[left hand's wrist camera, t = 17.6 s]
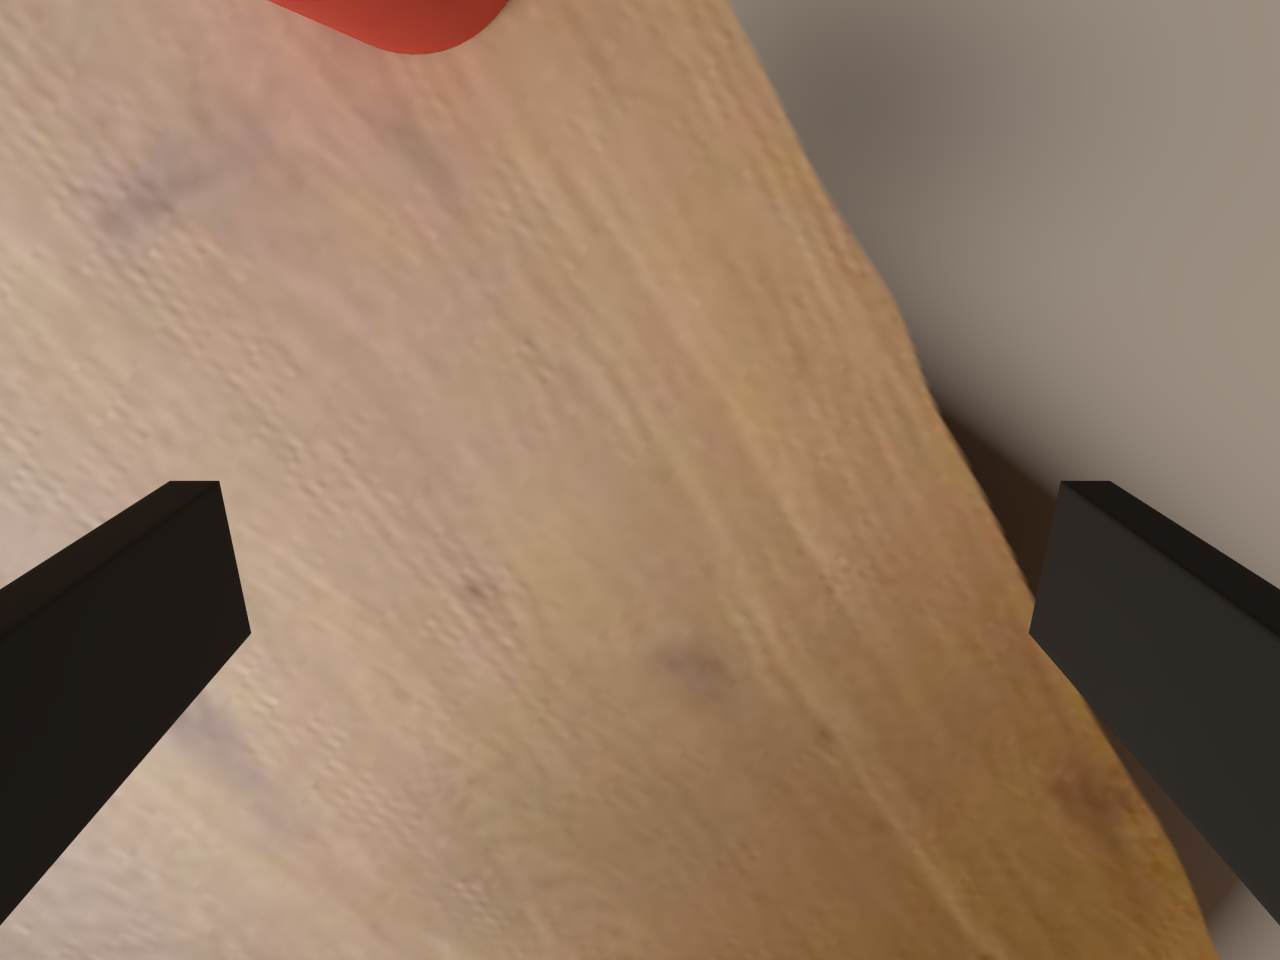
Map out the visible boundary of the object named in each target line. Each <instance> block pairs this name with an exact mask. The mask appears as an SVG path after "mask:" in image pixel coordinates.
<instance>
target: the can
mask: <svg viewBox="0 0 1280 960" xmlns="http://www.w3.org/2000/svg"><path fill="white" fill-rule="evenodd" d="M268 1H270V2H273V3H275V4H277V5H280V6H282V7H284V8H287V9H289V10H291V11H293V12H296V13H298V14H300V15H303V16H305V17H307V18H310V19H312V20H314V21H316V22H319V23H321V24H323V25H326V26H328V27H330V28H333V29H335V30H337V31H339V32H342V33H344V34H346V35H349V36H351V37H353V38H356V39H358V40H360V41H362V42H365V43H367V44H370V45H372V46H375V47H377V48H380V49H383V50H387V51H391V52H395V53H403V54H430V53H434V52H439V51H444V50H447V49H450V48H452V47H455V46H458V45H460V44H462V43H463V42H465V41H467V40H469V39H471V38H472V37H474V36H475V35H476V34H478V33H479V32H480V31H482V30H483V29H484V28H485V27H486V26H487V25H488V24H489V23H490V22H491V21H492V20H493V19H494V18H495V17H496V16H497V15H498V13H499V12H500V11H501V9H502V8H503V7H504V5H505V4H506V3H507V1H508V0H268Z"/></svg>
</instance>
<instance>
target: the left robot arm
mask: <svg viewBox="0 0 1280 960" xmlns="http://www.w3.org/2000/svg"><path fill="white" fill-rule="evenodd" d="M250 634H251V630H250V626H249V621H248V616H247V611H246V606H245V602H244V597H243V592H242V587H241V583H240V578H239V573H238V568H237V564H236V559H235V554H234V549H233V545H232V540H231V535H230V530H229V525H228V521H227V516H226V511H225V506H224V502H223V497H222V492H221V487H220V483H219V481H169V482H168V483H166V484H164V485H163V486H161V487H160V488H158V489H157V490H155V491H154V492H152V493H150V494H149V495H147V496H146V497H144V498H143V499H141V500H139V501H138V502H136V503H135V504H133V505H132V506H130V507H129V508H127V509H125V510H124V511H122V512H121V513H119V514H118V515H116V516H114V517H113V518H111V519H110V520H108V521H107V522H105V523H103V524H102V525H100V526H99V527H97V528H96V529H94V530H93V531H91V532H89V533H88V534H86V535H85V536H83V537H82V538H80V539H78V540H77V541H75V542H74V543H72V544H71V545H69V546H68V547H66V548H64V549H63V550H61V551H60V552H58V553H57V554H55V555H53V556H52V557H50V558H49V559H47V560H46V561H44V562H42V563H41V564H39V565H38V566H36V567H35V568H33V569H32V570H30V571H28V572H27V573H25V574H24V575H22V576H21V577H19V578H17V579H16V580H14V581H13V582H11V583H10V584H8V585H7V586H5V587H3V588H2V589H0V925H1V924H2V923H3V922H4V920H5V919H6V918H7V917H8V916H9V915H10V913H11V912H12V911H13V910H14V909H15V908H16V906H17V905H18V904H19V903H20V902H21V901H22V899H23V898H24V897H25V896H26V895H27V894H28V892H29V891H30V890H31V889H32V888H33V887H34V885H35V884H36V883H37V882H38V881H39V880H40V879H41V877H42V876H43V875H44V874H45V873H46V872H47V870H48V869H49V868H50V867H51V866H52V865H53V863H54V862H55V861H56V860H57V859H58V858H59V856H60V855H61V854H62V853H63V852H64V851H65V849H66V848H67V847H68V846H69V845H70V844H71V842H72V841H73V840H74V839H75V838H76V837H77V835H78V834H79V833H80V832H81V831H82V830H83V828H84V827H85V826H86V825H87V824H88V823H89V821H90V820H91V819H92V818H93V817H94V816H95V814H96V813H97V812H98V811H99V810H100V809H101V807H102V806H103V805H104V804H105V803H106V802H107V800H108V799H109V798H110V797H111V796H112V795H113V794H114V792H115V791H116V790H117V789H118V788H119V787H120V785H121V784H122V783H123V782H124V781H125V780H126V778H127V777H128V776H129V775H130V774H131V773H132V771H133V770H134V769H135V768H136V767H137V766H138V764H139V763H140V762H141V761H142V760H143V759H144V757H145V756H146V755H147V754H148V753H149V752H150V750H151V749H152V748H153V747H154V746H155V745H156V743H157V742H158V741H159V740H160V739H161V738H162V736H163V735H164V734H165V733H166V732H167V731H168V729H169V728H170V727H171V726H172V725H173V724H174V722H175V721H176V720H177V719H178V718H179V717H180V716H181V714H182V713H183V712H184V711H185V710H186V709H187V707H188V706H189V705H190V704H191V703H192V702H193V700H194V699H195V698H196V697H197V696H198V695H199V693H200V692H201V691H202V690H203V689H204V688H205V686H206V685H207V684H208V683H209V682H210V681H211V679H212V678H213V677H214V676H215V675H216V674H217V672H218V671H219V670H220V669H221V668H222V667H223V665H224V664H225V663H226V662H227V661H228V660H229V658H230V657H231V656H232V655H233V654H234V653H235V651H236V650H237V649H238V648H239V647H240V646H241V644H242V643H243V642H244V641H245V640H246V639H247V637H248V636H249V635H250ZM1029 634H1030V635H1031V636H1032V637H1033V639H1034V640H1035V641H1036V642H1037V643H1038V644H1039V646H1040V647H1041V648H1042V649H1043V650H1044V651H1045V653H1046V654H1047V655H1048V656H1049V657H1050V658H1051V660H1052V661H1053V662H1054V663H1055V664H1056V665H1057V667H1058V668H1059V669H1060V670H1061V671H1062V672H1063V674H1064V675H1065V676H1066V677H1067V678H1068V679H1069V681H1070V682H1071V683H1072V684H1073V685H1074V686H1075V688H1076V689H1077V690H1078V691H1079V692H1080V693H1081V695H1082V696H1083V697H1084V698H1085V699H1086V700H1087V702H1088V703H1089V704H1090V705H1091V706H1092V707H1093V709H1094V710H1095V711H1096V712H1097V713H1098V714H1099V716H1100V717H1101V718H1102V719H1103V720H1104V721H1105V722H1106V724H1107V725H1108V726H1109V727H1110V728H1111V729H1112V731H1113V732H1114V733H1115V734H1116V735H1117V736H1118V738H1119V739H1120V740H1121V741H1122V742H1123V743H1124V745H1125V746H1126V747H1127V748H1128V749H1129V750H1130V752H1131V753H1132V754H1133V755H1134V756H1135V757H1136V759H1137V760H1138V761H1139V762H1140V763H1141V764H1142V766H1143V767H1144V768H1145V769H1146V770H1147V771H1148V773H1149V774H1150V775H1151V776H1152V777H1153V778H1154V780H1155V781H1156V782H1157V783H1158V784H1159V785H1160V786H1161V788H1162V789H1163V790H1164V791H1165V792H1166V794H1167V795H1168V796H1169V797H1170V798H1171V799H1172V800H1173V802H1174V803H1175V804H1176V805H1177V806H1178V807H1179V809H1180V810H1181V811H1182V812H1183V813H1184V814H1185V816H1186V817H1187V818H1188V819H1189V820H1190V821H1191V823H1192V824H1193V825H1194V826H1195V827H1196V828H1197V830H1198V831H1199V832H1200V833H1201V834H1202V835H1203V837H1204V838H1205V839H1206V840H1207V841H1208V842H1209V844H1210V845H1211V846H1212V847H1213V848H1214V849H1215V851H1216V852H1217V853H1218V854H1219V855H1220V856H1221V858H1222V859H1223V860H1224V861H1225V862H1226V863H1227V865H1228V866H1229V867H1230V868H1231V869H1232V870H1233V872H1234V873H1235V874H1236V875H1237V876H1238V877H1239V879H1240V880H1241V881H1242V882H1243V883H1244V884H1245V885H1246V887H1247V888H1248V889H1249V890H1250V891H1251V892H1252V894H1253V895H1254V896H1255V897H1256V898H1257V899H1258V901H1259V902H1260V903H1261V904H1262V905H1263V906H1264V908H1265V909H1266V910H1267V911H1268V912H1269V913H1270V915H1271V916H1272V917H1273V918H1274V919H1275V920H1276V922H1277V923H1278V924H1279V925H1280V589H1278V588H1277V587H1275V586H1273V585H1272V584H1270V583H1269V582H1267V581H1266V580H1264V579H1263V578H1261V577H1259V576H1258V575H1256V574H1255V573H1253V572H1252V571H1250V570H1248V569H1247V568H1245V567H1244V566H1242V565H1241V564H1239V563H1237V562H1236V561H1234V560H1233V559H1231V558H1230V557H1228V556H1227V555H1225V554H1223V553H1222V552H1220V551H1219V550H1217V549H1216V548H1214V547H1212V546H1211V545H1209V544H1208V543H1206V542H1205V541H1203V540H1202V539H1200V538H1198V537H1197V536H1195V535H1194V534H1192V533H1191V532H1189V531H1187V530H1186V529H1184V528H1183V527H1181V526H1180V525H1178V524H1177V523H1175V522H1173V521H1172V520H1170V519H1169V518H1167V517H1166V516H1164V515H1162V514H1161V513H1159V512H1158V511H1156V510H1155V509H1153V508H1151V507H1150V506H1148V505H1147V504H1145V503H1144V502H1142V501H1141V500H1139V499H1137V498H1136V497H1134V496H1133V495H1131V494H1130V493H1128V492H1126V491H1125V490H1123V489H1122V488H1120V487H1119V486H1117V485H1116V484H1114V483H1112V482H1111V481H1061V483H1060V487H1059V492H1058V497H1057V502H1056V506H1055V511H1054V516H1053V521H1052V526H1051V530H1050V535H1049V540H1048V545H1047V549H1046V554H1045V559H1044V564H1043V568H1042V573H1041V578H1040V583H1039V588H1038V592H1037V597H1036V602H1035V606H1034V611H1033V616H1032V621H1031V626H1030V630H1029Z"/></svg>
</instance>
